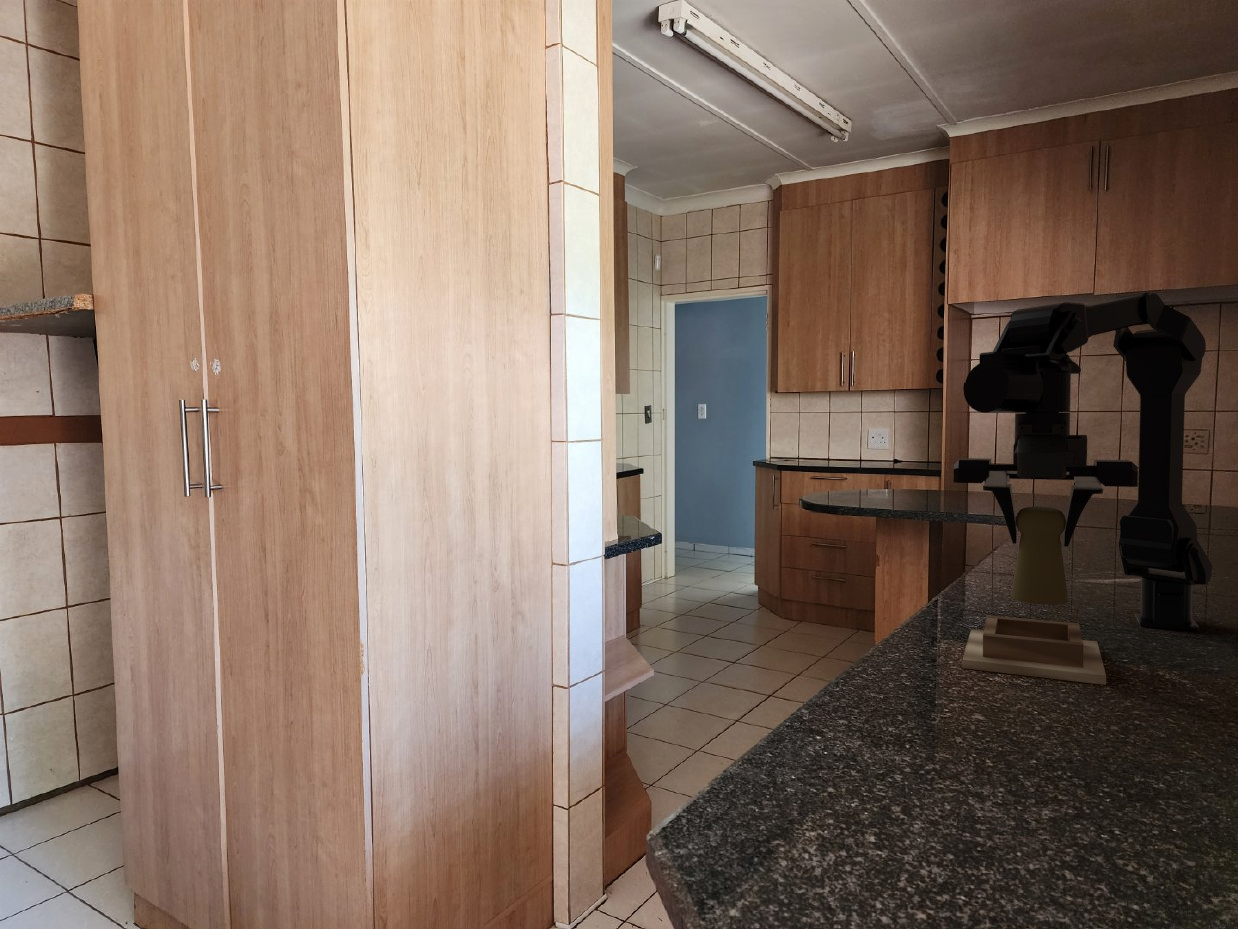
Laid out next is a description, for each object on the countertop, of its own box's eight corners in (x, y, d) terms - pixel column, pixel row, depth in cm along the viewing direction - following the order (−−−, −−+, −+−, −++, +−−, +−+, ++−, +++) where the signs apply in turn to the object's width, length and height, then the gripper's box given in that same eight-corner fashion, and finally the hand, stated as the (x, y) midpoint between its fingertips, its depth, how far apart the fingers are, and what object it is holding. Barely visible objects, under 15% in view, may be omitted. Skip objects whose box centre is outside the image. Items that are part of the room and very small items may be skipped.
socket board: (971, 637, 102) (971, 610, 102) (1096, 649, 95) (1097, 621, 95) (962, 668, 90) (962, 638, 90) (1106, 685, 83) (1106, 652, 83)
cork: (1076, 605, 90) (1078, 510, 89) (1019, 603, 91) (1020, 509, 90) (1058, 594, 96) (1059, 504, 95) (1004, 592, 97) (1005, 504, 96)
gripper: (949, 413, 89) (948, 549, 90) (1145, 410, 81) (1142, 561, 81) (958, 414, 99) (956, 536, 100) (1133, 411, 90) (1130, 546, 91)
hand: (1040, 544), depth 93 cm, fingers closed on cork, 5 cm apart
